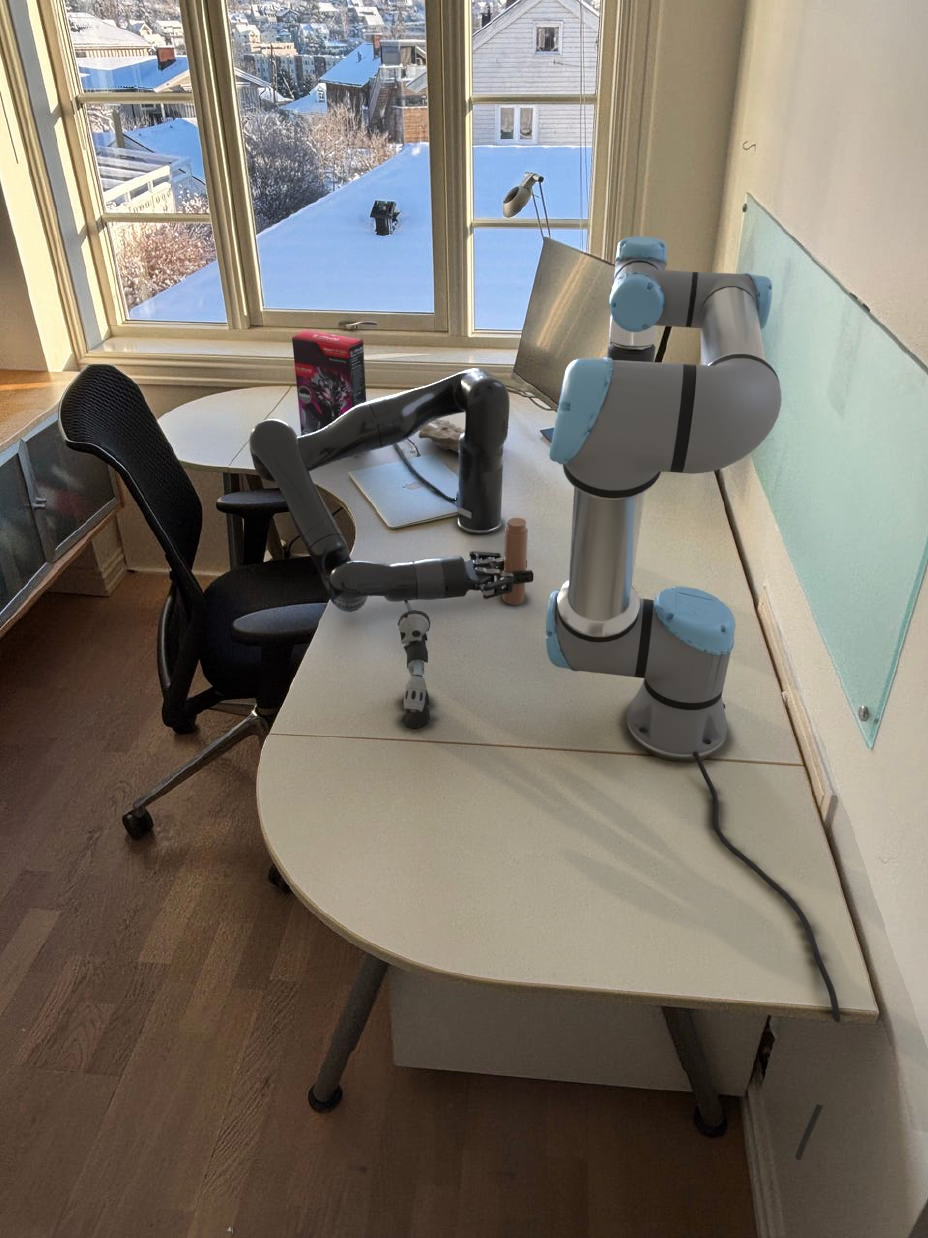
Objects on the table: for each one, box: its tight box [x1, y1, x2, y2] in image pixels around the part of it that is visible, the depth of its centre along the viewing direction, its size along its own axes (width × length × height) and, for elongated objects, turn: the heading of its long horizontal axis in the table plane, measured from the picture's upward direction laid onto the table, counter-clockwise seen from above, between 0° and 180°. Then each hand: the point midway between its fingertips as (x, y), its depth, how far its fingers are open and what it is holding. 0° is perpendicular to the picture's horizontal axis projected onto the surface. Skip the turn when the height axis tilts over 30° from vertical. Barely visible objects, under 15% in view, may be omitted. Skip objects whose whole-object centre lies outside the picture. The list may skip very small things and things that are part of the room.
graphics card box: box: [291, 329, 367, 436], centre depth 226 cm, size 17×7×27 cm, turn 62°
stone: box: [418, 418, 465, 454], centre depth 230 cm, size 21×15×6 cm
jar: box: [502, 517, 529, 606], centre depth 170 cm, size 4×4×16 cm
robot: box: [396, 599, 431, 729], centre depth 141 cm, size 20×5×20 cm, turn 3°
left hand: (529, 569), depth 171 cm, fingers closed on jar, 4 cm apart
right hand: (617, 477), depth 159 cm, fingers closed on lid, 5 cm apart
